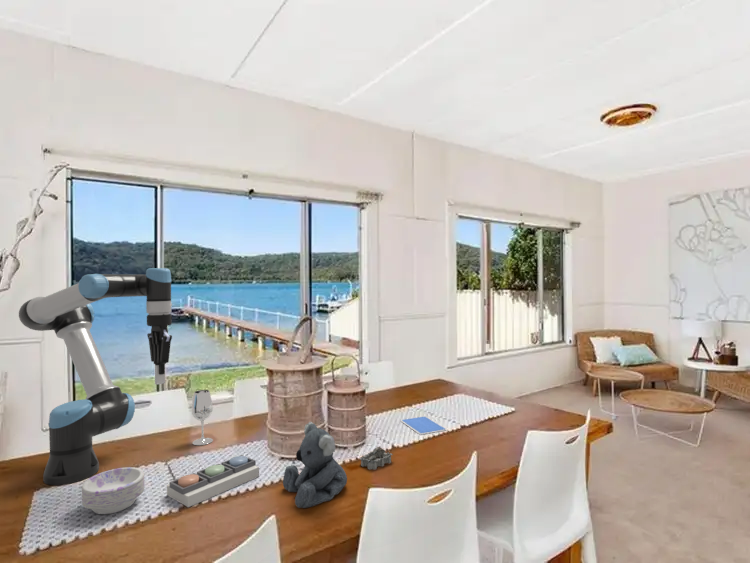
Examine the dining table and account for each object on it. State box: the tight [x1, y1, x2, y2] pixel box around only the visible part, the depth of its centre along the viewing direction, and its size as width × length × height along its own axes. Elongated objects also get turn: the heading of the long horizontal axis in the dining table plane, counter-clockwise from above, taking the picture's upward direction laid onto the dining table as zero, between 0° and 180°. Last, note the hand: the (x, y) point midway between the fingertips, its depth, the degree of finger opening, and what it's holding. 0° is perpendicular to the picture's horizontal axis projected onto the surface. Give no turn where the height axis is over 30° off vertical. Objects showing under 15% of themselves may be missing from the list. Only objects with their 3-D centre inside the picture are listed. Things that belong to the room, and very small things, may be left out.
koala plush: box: [282, 421, 348, 509], centre depth 130 cm, size 17×18×20 cm
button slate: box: [228, 455, 249, 467], centre depth 142 cm, size 6×6×2 cm
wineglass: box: [190, 389, 214, 446], centre depth 173 cm, size 8×8×20 cm
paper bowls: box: [81, 466, 146, 515], centre depth 124 cm, size 15×15×8 cm
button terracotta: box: [177, 473, 199, 488], centre depth 128 cm, size 6×6×2 cm
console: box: [166, 454, 260, 508], centre depth 135 cm, size 25×12×4 cm, turn 142°
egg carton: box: [359, 445, 394, 471], centre depth 149 cm, size 11×8×4 cm
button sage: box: [204, 464, 224, 477], centre depth 135 cm, size 6×6×2 cm
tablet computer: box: [400, 416, 447, 436], centre depth 187 cm, size 19×13×1 cm, turn 21°
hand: (160, 383), depth 147 cm, fingers closed
